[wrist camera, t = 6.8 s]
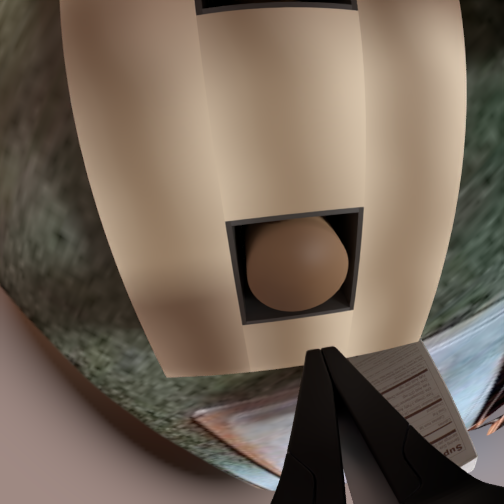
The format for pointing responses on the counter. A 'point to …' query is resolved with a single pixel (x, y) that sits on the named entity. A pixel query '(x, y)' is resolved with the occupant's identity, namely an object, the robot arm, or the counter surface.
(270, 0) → the peg
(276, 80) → the block
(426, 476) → the robot arm
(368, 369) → the supplement box
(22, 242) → the counter surface
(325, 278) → the peg
